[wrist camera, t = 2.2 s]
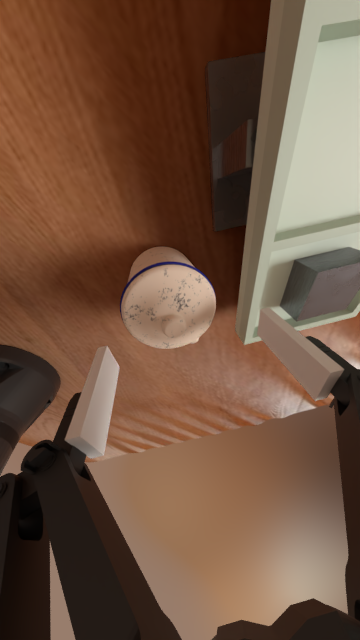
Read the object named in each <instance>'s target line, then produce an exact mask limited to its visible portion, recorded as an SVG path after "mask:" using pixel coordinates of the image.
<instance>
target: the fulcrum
mask: <svg viewBox="0 0 360 640" xmlns="http://www.w3.org/2000/svg"><path fill="white" fill-rule="evenodd" d="M264 61H265V52H261V53H256V54H250V55H244V56H238V57H232V58H227V59H221V60H215V61H209V62H208V63H207V65H206V68H205V79H206V99H207V119H208V139H209V159H210V179H211V199H212V219H213V231H220V230H224V229H229V228H234V227H238V226H243V225H247V216H248V207H249V198H250V189H251V180H252V170H253V161H254V152H255V143H256V134H257V125H258V116H259V107H260V98H261V88H262V79H263V70H264Z"/></svg>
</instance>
